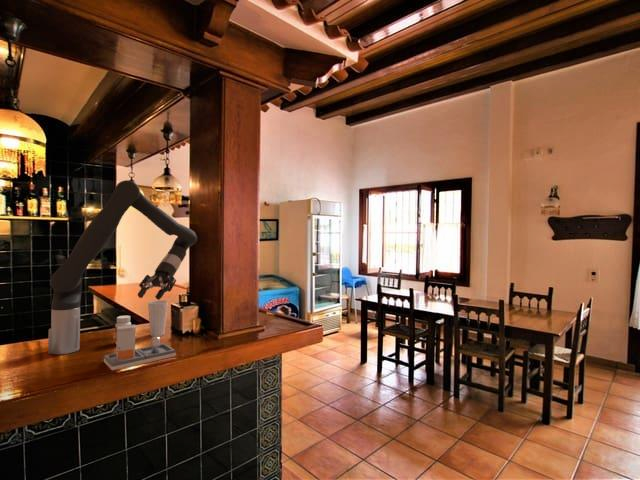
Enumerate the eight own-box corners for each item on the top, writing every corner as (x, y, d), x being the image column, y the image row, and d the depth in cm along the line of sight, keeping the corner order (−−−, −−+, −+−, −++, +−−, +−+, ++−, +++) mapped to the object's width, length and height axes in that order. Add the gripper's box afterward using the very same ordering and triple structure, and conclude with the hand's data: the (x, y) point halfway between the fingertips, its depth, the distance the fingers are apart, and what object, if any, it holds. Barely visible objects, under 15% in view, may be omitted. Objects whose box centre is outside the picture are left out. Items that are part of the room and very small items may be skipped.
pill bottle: (113, 345, 146) (114, 319, 145) (115, 341, 151) (116, 315, 151) (130, 344, 148) (130, 317, 148) (131, 340, 154) (132, 314, 154)
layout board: (111, 370, 120) (112, 349, 120) (103, 361, 127) (104, 342, 127) (175, 356, 135) (175, 337, 135) (164, 349, 143) (165, 331, 143)
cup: (161, 331, 168) (161, 299, 168) (171, 334, 163) (171, 302, 163) (143, 335, 161) (144, 302, 161) (153, 338, 156) (154, 304, 156)
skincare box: (115, 361, 124) (116, 328, 124) (116, 358, 128) (117, 325, 128) (135, 359, 127) (135, 327, 127) (135, 355, 131) (135, 324, 131)
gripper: (150, 260, 148) (128, 290, 137) (178, 261, 144) (158, 293, 133) (159, 271, 153) (138, 301, 142) (186, 273, 149) (167, 304, 138)
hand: (148, 297), depth 138 cm, fingers open, 8 cm apart
